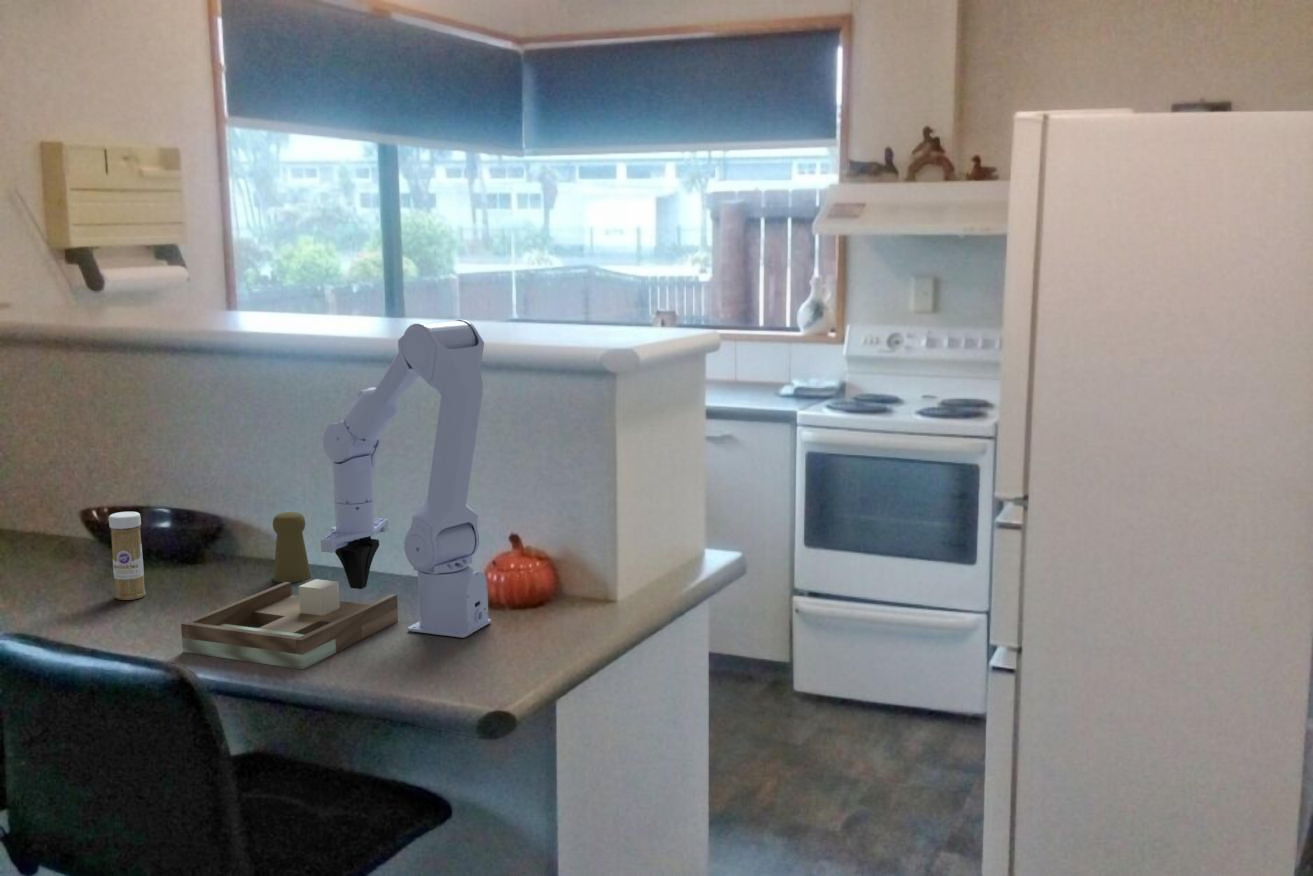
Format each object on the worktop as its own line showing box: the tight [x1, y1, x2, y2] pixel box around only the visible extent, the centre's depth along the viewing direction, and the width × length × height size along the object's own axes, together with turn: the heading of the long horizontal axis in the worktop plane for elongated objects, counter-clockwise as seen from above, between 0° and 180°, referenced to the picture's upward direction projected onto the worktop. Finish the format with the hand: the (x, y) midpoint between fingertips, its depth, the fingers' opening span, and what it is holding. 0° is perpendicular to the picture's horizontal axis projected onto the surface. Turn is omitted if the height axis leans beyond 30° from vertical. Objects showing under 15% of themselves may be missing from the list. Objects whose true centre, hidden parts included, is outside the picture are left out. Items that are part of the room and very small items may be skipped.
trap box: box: [180, 582, 399, 670], centre depth 175 cm, size 20×22×4 cm
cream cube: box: [298, 578, 340, 616], centre depth 180 cm, size 4×4×4 cm
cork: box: [272, 511, 312, 584], centre depth 205 cm, size 6×6×11 cm
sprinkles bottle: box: [108, 511, 147, 601], centre depth 194 cm, size 5×5×13 cm
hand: (358, 587), depth 189 cm, fingers closed
